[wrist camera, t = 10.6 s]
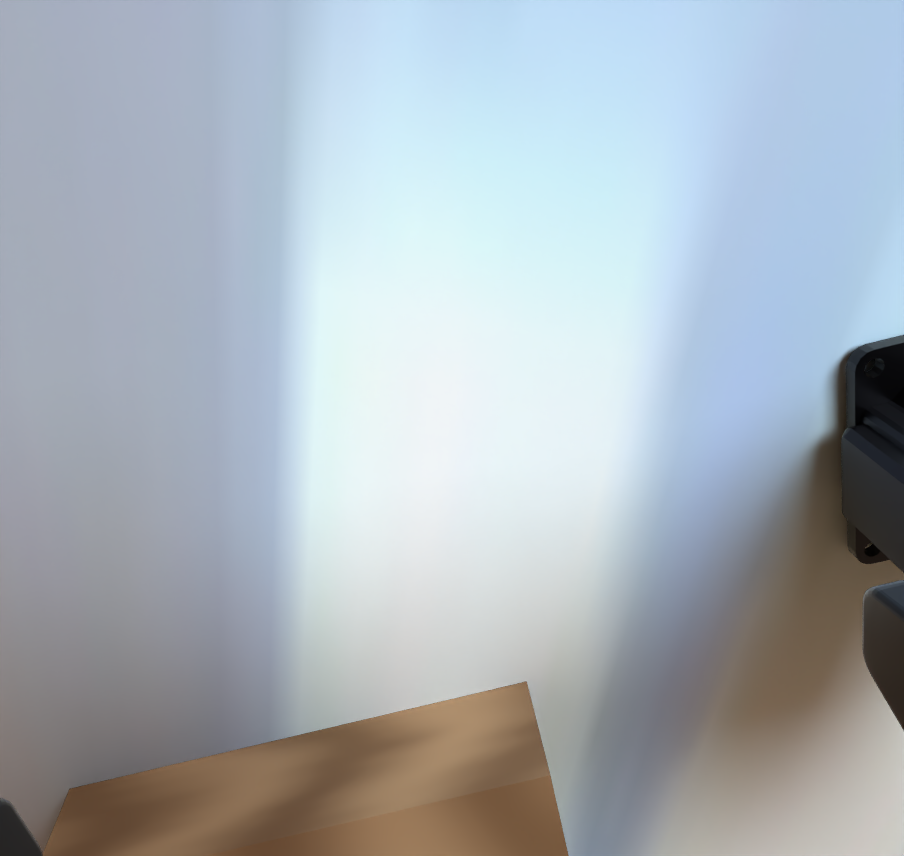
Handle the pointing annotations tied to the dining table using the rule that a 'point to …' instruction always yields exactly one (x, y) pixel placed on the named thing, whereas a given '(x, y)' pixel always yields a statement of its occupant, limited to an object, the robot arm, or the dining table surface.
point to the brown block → (340, 792)
